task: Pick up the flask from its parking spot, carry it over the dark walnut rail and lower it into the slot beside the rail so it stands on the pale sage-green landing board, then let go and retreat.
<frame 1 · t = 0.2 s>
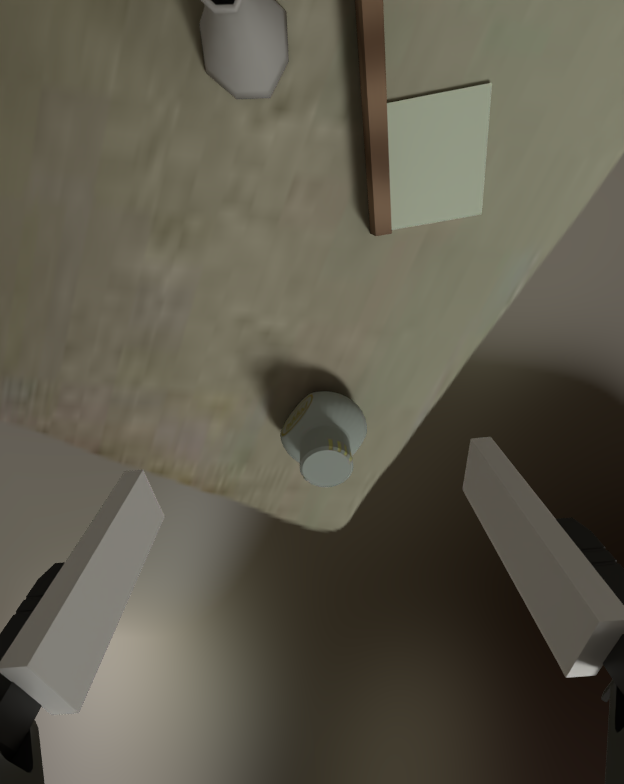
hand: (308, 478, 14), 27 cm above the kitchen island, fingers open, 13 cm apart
landing board: (435, 163, 32), on the kitchen island
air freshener: (322, 417, 46), on the kitchen island
rail: (432, 39, 28), on the kitchen island
flask: (245, 45, 28), on the kitchen island
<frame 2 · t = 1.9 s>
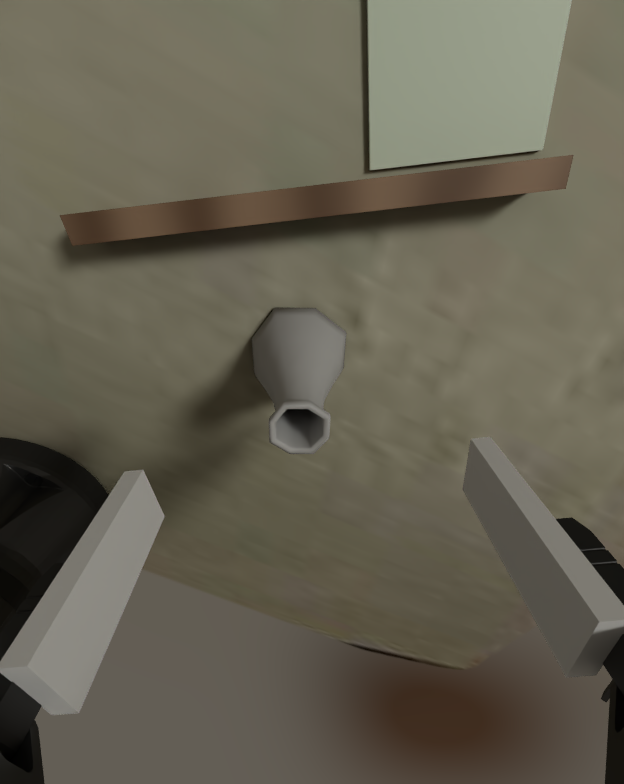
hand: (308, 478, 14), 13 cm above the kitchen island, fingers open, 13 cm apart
landing board: (463, 57, 18), on the kitchen island
rail: (302, 89, 18), on the kitchen island
flask: (298, 350, 26), on the kitchen island
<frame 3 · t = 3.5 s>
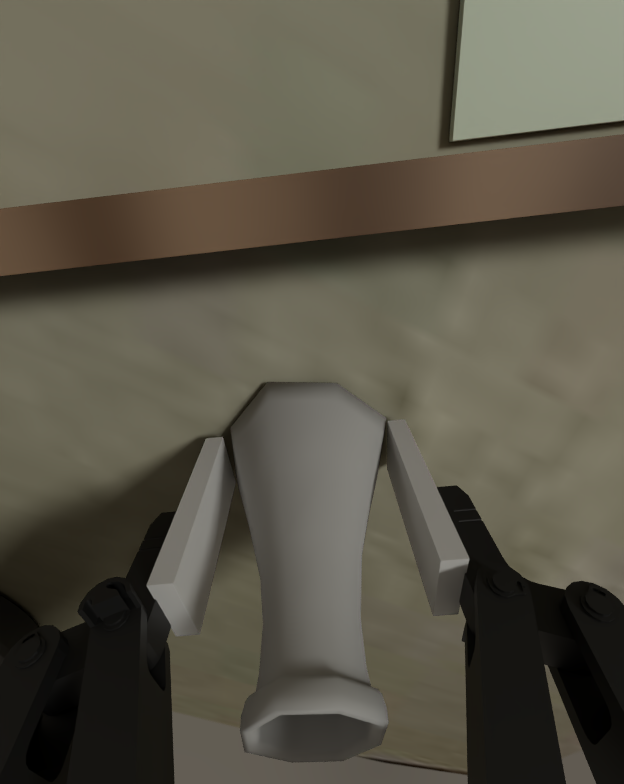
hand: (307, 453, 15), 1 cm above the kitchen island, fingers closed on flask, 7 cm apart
flask: (307, 441, 16), on the kitchen island, touching gripper
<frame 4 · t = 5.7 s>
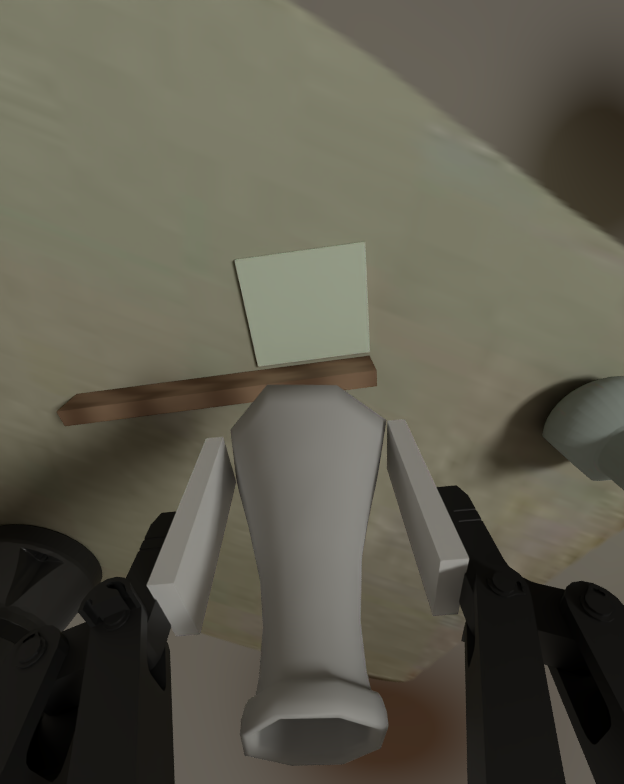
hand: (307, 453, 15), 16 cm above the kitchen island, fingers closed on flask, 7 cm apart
landing board: (307, 308, 28), on the kitchen island
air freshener: (581, 412, 35), on the kitchen island
rail: (207, 327, 29), on the kitchen island
flask: (307, 443, 16), point 15 cm above the kitchen island, touching gripper
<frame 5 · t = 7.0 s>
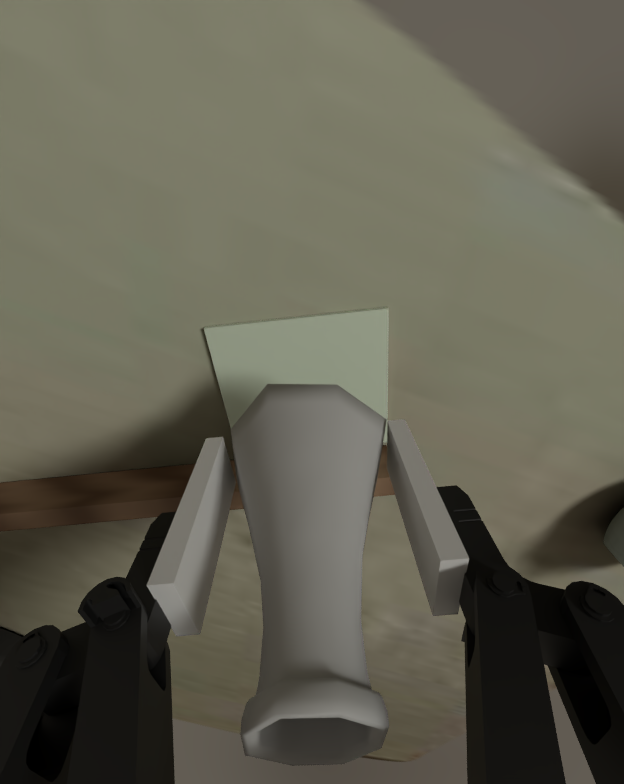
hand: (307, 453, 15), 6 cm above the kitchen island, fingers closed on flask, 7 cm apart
landing board: (304, 388, 21), on the kitchen island
rail: (170, 409, 21), on the kitchen island
flask: (307, 443, 16), point 5 cm above the kitchen island, touching gripper
when the fingers open (2 cm above the kitchen island, at t = 8.0 s): flask stays where it is, resting on landing board.
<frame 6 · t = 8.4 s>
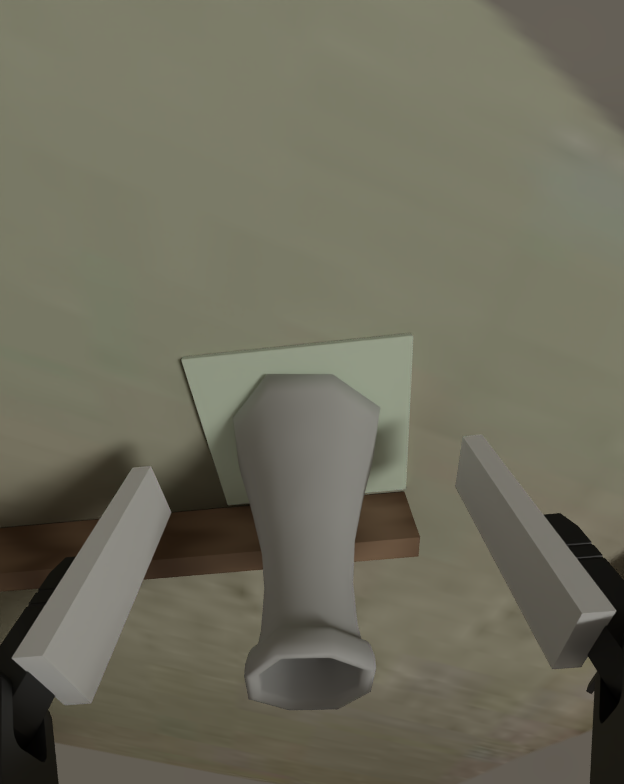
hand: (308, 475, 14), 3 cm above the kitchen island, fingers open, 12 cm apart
landing board: (307, 428, 17), on the kitchen island
rail: (144, 452, 17), on the kitchen island
flask: (306, 431, 17), resting on landing board
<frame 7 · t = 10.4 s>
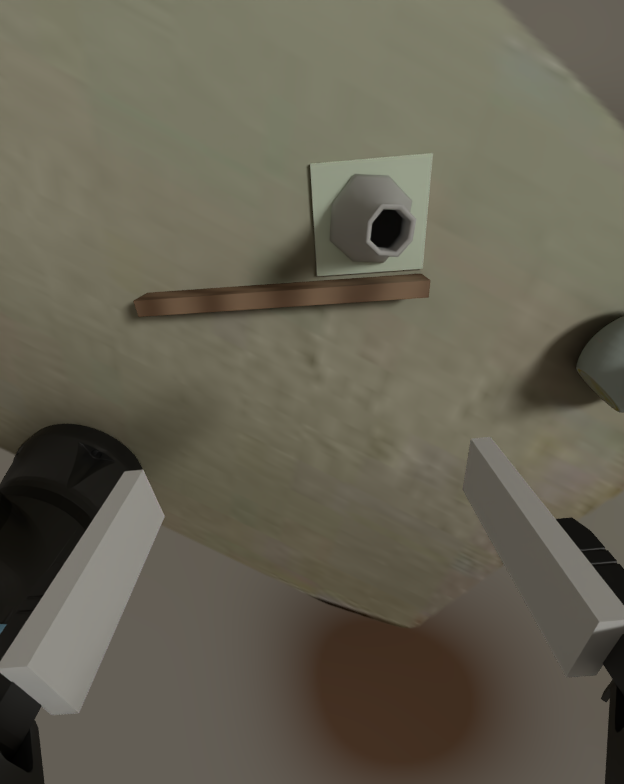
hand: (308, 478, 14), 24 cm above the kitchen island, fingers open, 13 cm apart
landing board: (369, 219, 30), on the kitchen island
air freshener: (614, 350, 37), on the kitchen island
rail: (276, 233, 31), on the kitchen island
flask: (369, 220, 30), resting on landing board
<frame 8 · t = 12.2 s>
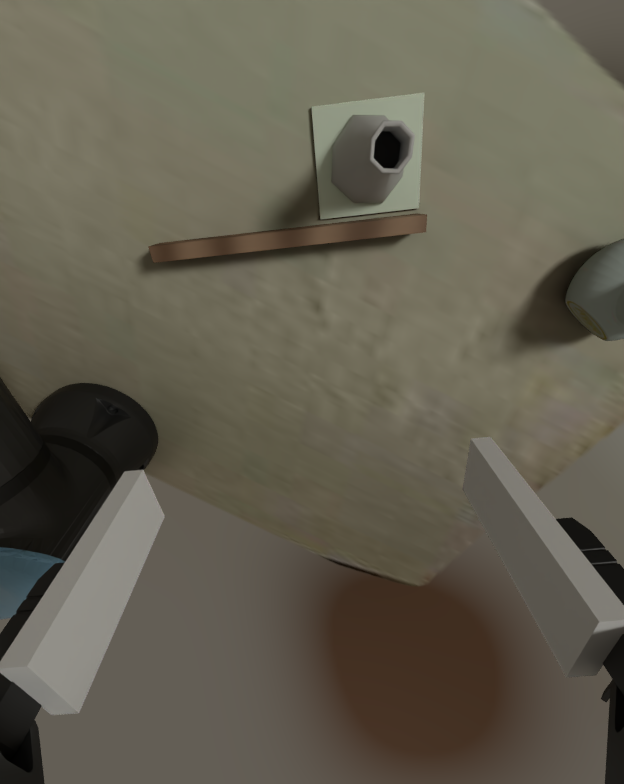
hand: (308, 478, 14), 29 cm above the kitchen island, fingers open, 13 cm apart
landing board: (368, 161, 33), on the kitchen island
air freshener: (599, 284, 39), on the kitchen island
rail: (280, 177, 33), on the kitchen island
flask: (367, 161, 32), resting on landing board
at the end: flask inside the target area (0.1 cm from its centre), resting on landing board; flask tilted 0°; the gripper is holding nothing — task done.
